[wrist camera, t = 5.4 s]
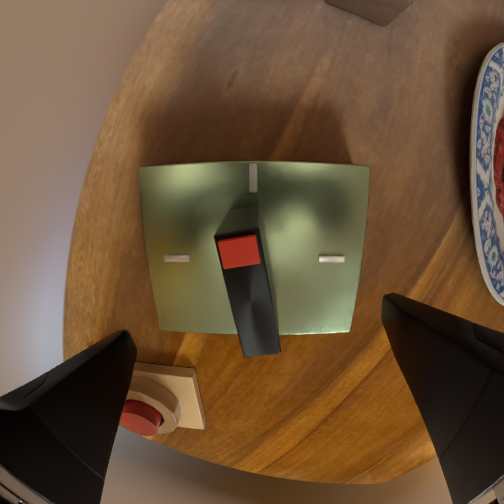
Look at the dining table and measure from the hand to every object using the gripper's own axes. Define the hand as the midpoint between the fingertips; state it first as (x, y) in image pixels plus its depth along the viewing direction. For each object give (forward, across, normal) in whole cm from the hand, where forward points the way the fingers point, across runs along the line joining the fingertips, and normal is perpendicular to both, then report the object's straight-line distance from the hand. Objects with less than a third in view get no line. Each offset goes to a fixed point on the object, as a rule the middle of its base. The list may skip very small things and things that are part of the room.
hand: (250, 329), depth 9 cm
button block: (+9, +12, +13) cm, 20 cm away
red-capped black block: (+6, 0, 0) cm, 6 cm away
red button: (+7, +12, +13) cm, 19 cm away
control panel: (+9, 0, 0) cm, 9 cm away
